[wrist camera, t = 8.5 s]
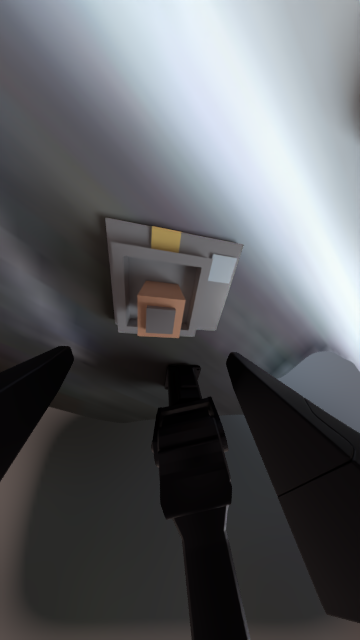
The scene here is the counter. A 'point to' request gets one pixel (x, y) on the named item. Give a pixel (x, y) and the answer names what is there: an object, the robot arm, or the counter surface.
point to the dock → (169, 272)
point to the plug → (160, 309)
